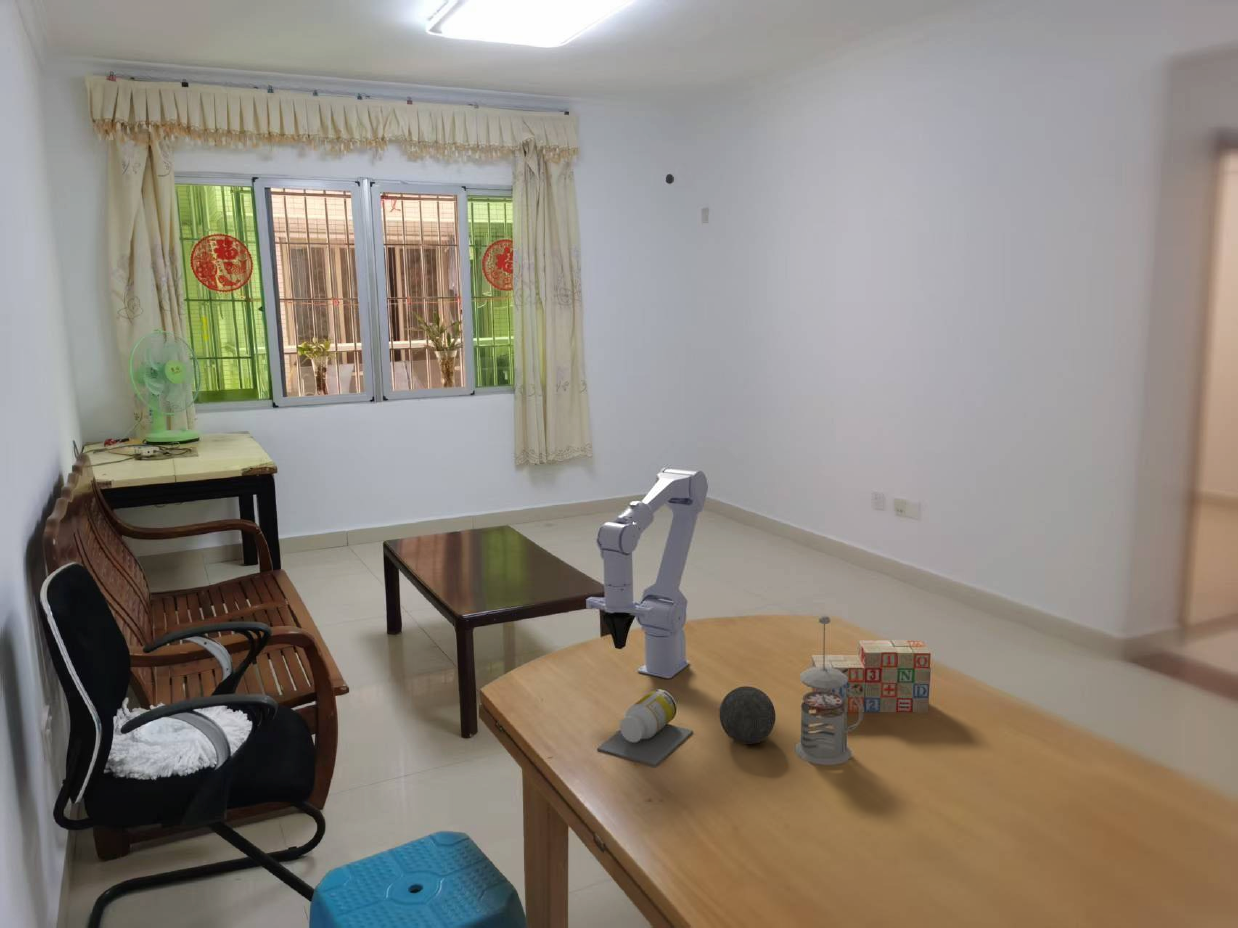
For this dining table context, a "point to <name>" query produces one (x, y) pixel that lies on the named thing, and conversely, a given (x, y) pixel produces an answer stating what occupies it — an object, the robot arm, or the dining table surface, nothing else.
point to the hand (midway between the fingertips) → (620, 647)
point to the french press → (829, 742)
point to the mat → (647, 745)
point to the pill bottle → (648, 716)
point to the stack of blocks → (883, 676)
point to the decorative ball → (747, 715)
